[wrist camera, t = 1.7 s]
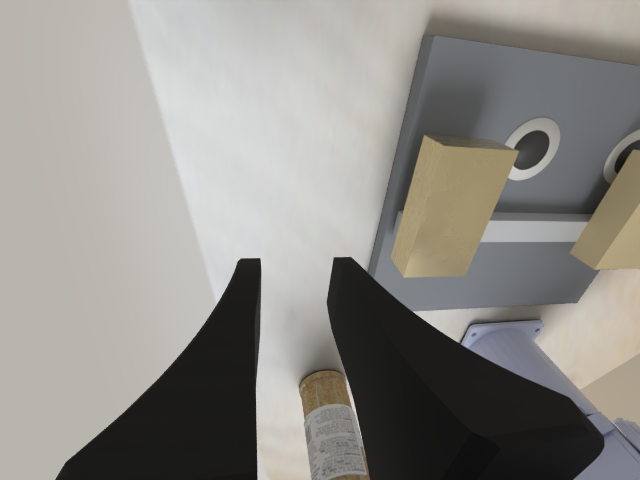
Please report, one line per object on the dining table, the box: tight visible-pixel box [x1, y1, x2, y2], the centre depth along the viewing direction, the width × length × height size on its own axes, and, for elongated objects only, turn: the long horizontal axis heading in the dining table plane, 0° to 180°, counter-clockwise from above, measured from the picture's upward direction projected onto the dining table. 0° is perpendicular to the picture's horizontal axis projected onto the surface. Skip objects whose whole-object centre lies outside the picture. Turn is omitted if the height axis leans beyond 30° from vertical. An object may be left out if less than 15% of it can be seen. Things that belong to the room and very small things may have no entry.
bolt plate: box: [368, 35, 640, 311], centre depth 21 cm, size 18×20×4 cm
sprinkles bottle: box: [299, 371, 370, 480], centre depth 24 cm, size 5×5×13 cm
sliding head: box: [391, 135, 519, 278], centre depth 18 cm, size 8×4×3 cm, turn 173°
